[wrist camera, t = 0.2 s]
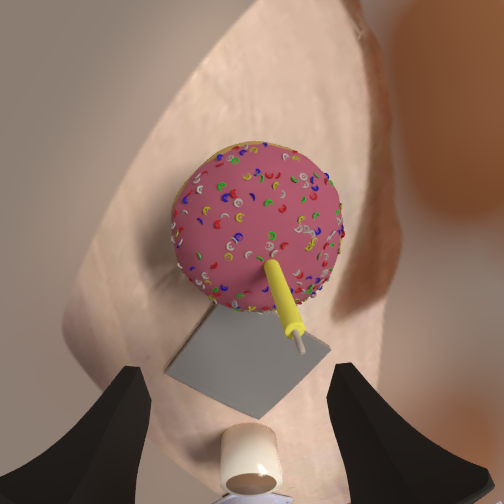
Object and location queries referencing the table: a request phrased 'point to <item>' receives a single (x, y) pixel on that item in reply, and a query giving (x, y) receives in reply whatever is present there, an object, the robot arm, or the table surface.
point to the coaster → (245, 360)
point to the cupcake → (258, 230)
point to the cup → (250, 460)
